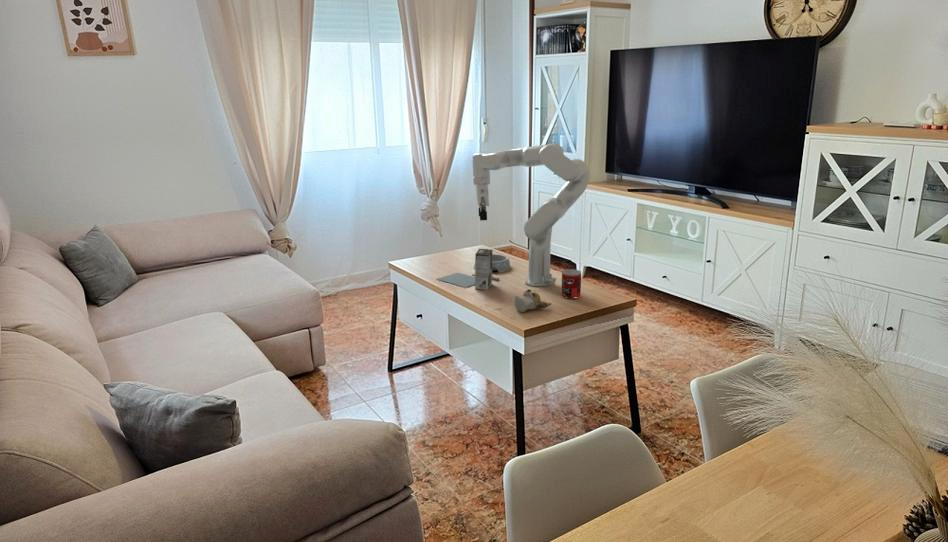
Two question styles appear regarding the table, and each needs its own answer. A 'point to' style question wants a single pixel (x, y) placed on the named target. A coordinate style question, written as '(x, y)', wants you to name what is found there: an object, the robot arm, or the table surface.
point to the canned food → (571, 283)
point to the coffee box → (483, 269)
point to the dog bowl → (500, 263)
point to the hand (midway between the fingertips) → (482, 218)
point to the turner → (492, 277)
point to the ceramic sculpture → (529, 301)
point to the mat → (459, 279)
